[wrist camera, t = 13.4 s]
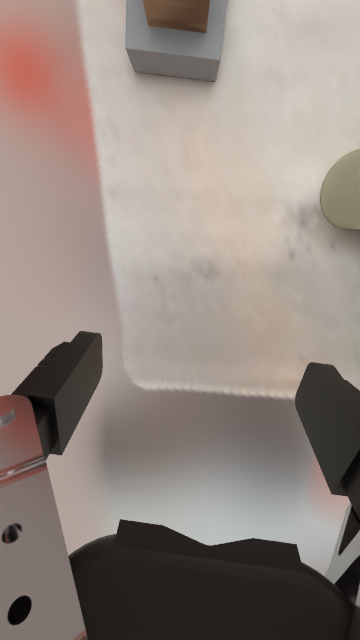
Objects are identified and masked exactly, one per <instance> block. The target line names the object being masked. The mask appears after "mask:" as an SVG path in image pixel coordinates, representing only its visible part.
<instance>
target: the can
mask: <svg viewBox="0 0 360 640" xmlns="http://www.w3.org/2000/svg"><path fill="white" fill-rule="evenodd" d="M321 206H322V210H323V213H324V215H325V216H326V218H327V219H328V220H329V221H330V222H331V223H332V224H333V225H335V226H337V227H340V228H343V229H360V149H359V150H356V151H353V152H351V153H349V154H347V155H346V156H344V157H343V158H341V159H340V160H339V161H338V162H337V163H336V164H335V165H334V166H333V167H332V169H331V170H330V171H329V173H328V175H327V176H326V178H325V181H324V183H323V186H322V190H321Z"/></svg>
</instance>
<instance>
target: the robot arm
mask: <svg viewBox="0 0 360 640" xmlns="http://www.w3.org/2000/svg"><path fill="white" fill-rule="evenodd" d="M102 368H103V363H102V336H101V334H100V333H93V332H85V331H80V332H79V333H78V334H77V335H76V336H75V338H74V339H73V340H72V341H71V342H70V343H69V342H63V343H61V344H60V345H58V346H56V347H54V348H53V349H51V351H50V352H49V353H48V354H47V355H46V356H45V357H44V359H43V360H42V361H41V362H40V363H39V364H38V366H37V367H35V368H34V370H33V371H32V372H31V373H30V374H29V375H28V376H27V377H26V378H25V380H24V381H23V382H22V383H21V384H20V385H19V386H18V388H16V390H15V391H14V392H13V393H12V394H11V395H5V396H0V640H360V391H359V390H358V389H357V388H355V387H354V386H353V385H352V384H350V383H349V382H348V381H347V380H344V379H343V378H342V376H341V375H340V374H339V372H338V371H337V369H336V368H335V367H334V366H333V365H329V364H321V363H314V362H311V363H309V364H308V366H307V368H306V370H305V373H304V375H303V378H302V380H301V383H300V385H299V388H298V390H297V393H296V397H295V405H296V409H297V412H298V414H299V417H300V419H301V422H302V424H303V426H304V429H305V431H306V434H307V436H308V438H309V441H310V443H311V446H312V448H313V451H314V453H315V455H316V458H317V460H318V462H319V465H320V467H321V470H322V472H323V474H324V477H325V479H326V482H327V484H328V487H329V489H330V491H331V494H334V495H342V496H348V498H349V500H350V502H351V503H350V505H349V506H348V508H347V510H346V513H345V517H344V520H343V523H342V527H341V530H340V533H339V537H338V540H337V544H336V547H335V550H334V554H333V557H332V560H331V563H330V566H329V568H328V570H327V572H326V574H325V576H323V575H322V574H320V573H319V572H317V571H316V570H314V569H313V568H311V567H309V566H308V565H306V564H304V563H302V562H301V560H300V556H299V552H298V548H297V545H296V544H290V543H283V542H276V541H268V540H262V539H255V538H252V539H246V540H240V541H235V542H229V543H224V544H218V545H213V546H209V545H204V544H202V543H200V542H198V541H196V540H193V539H191V538H189V537H187V536H185V535H183V534H180V533H178V532H176V531H174V530H172V529H169V528H168V527H165V526H163V525H156V524H149V523H142V522H135V521H128V520H121V519H120V522H119V526H118V530H117V534H113V535H108V536H105V537H102V538H99V539H96V540H94V541H92V542H90V543H87V544H86V545H84V546H82V547H81V548H79V549H77V550H76V551H74V552H73V553H72V554H70V555H69V556H68V553H67V549H66V544H65V540H64V536H63V532H62V527H61V523H60V519H59V515H58V511H57V507H56V502H55V498H54V494H53V489H52V485H51V481H50V477H49V472H48V469H47V464H46V459H47V457H48V455H49V454H57V455H62V454H63V452H64V450H65V448H66V446H67V444H68V442H69V440H70V438H71V436H72V434H73V432H74V430H75V428H76V426H77V424H78V422H79V420H80V419H81V417H82V415H83V413H84V411H85V409H86V407H87V405H88V403H89V401H90V399H91V397H92V395H93V393H94V391H95V389H96V387H97V385H98V383H99V381H100V378H101V374H102Z"/></svg>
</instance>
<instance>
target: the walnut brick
mask: <svg viewBox="0 0 360 640" xmlns="http://www.w3.org/2000/svg"><path fill="white" fill-rule="evenodd" d="M143 4H144V9H145V13H146V18H147V23H148V26H154V27H162V28H170V29H177V30H185V31H193V32H201V33H206V31H207V22H208V14H209V5H210V0H143Z"/></svg>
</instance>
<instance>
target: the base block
mask: <svg viewBox="0 0 360 640" xmlns="http://www.w3.org/2000/svg"><path fill="white" fill-rule="evenodd" d="M226 8H227V0H210V5H209V14H208V22H207V31H206V33H201V32H193V31H185V30H177V29H170V28H162V27H154V26H148V23H147V18H146V13H145V9H144V4H143V0H127V4H126V50H127V53H128V56H129V58H130V61H131V63H132V66H133V68H134V71H135V72H140V73H149V74H157V75H165V76H173V77H181V78H189V79H197V80H205V81H214V82H215V79H216V75H217V71H218V66H219V62H220V56H221V48H222V40H223V32H224V24H225V16H226Z"/></svg>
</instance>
